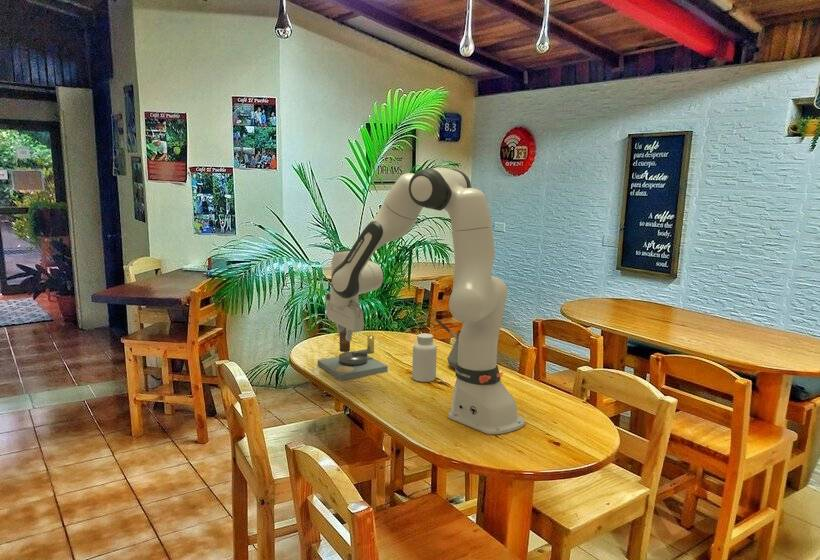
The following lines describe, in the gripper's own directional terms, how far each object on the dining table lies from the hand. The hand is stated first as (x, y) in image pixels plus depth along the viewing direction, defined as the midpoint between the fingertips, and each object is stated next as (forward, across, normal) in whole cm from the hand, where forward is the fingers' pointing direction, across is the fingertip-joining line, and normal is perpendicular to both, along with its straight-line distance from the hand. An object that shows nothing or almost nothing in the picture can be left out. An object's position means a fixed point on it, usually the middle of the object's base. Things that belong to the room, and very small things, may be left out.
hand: (344, 338), depth 189 cm
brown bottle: (+4, 0, 0) cm, 4 cm away
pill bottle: (+13, -16, -22) cm, 30 cm away
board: (+13, +5, -6) cm, 15 cm away
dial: (+11, +6, -8) cm, 15 cm away
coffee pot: (+13, -9, -40) cm, 43 cm away
